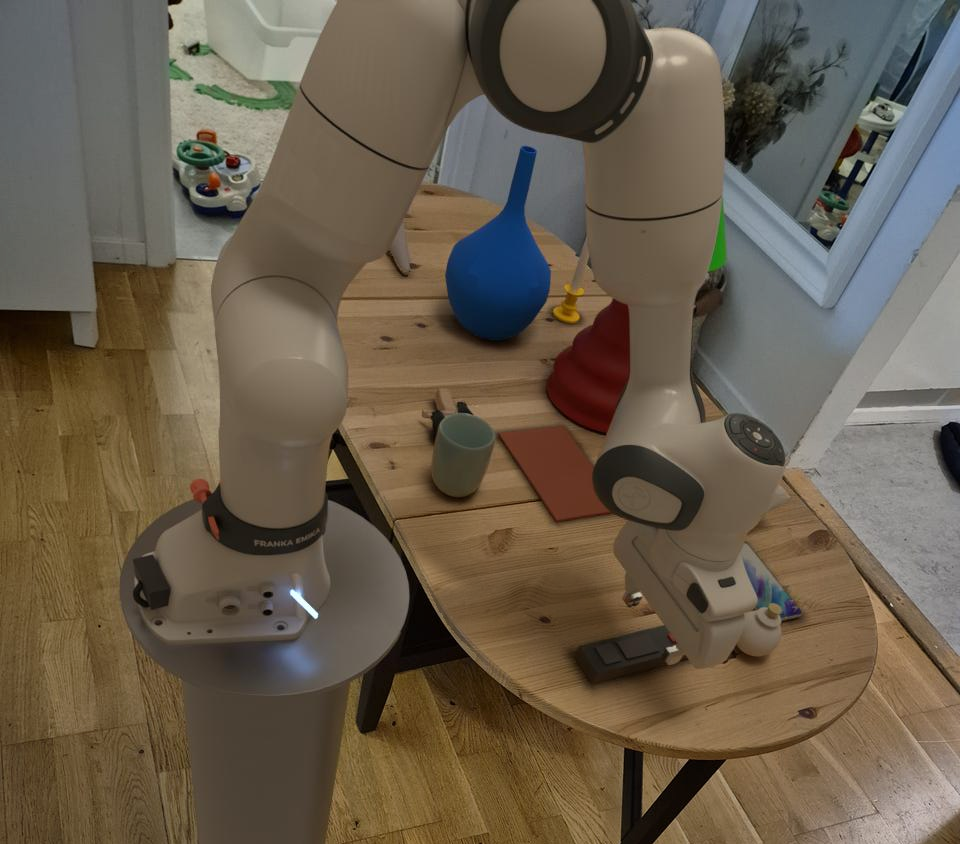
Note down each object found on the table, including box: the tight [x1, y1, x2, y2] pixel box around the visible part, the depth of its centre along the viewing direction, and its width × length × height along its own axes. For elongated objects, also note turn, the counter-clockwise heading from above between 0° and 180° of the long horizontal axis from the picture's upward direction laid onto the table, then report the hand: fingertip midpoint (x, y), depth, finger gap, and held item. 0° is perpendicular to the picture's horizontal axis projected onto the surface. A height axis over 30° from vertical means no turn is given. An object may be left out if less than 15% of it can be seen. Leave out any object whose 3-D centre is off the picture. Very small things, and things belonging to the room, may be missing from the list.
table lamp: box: [546, 192, 728, 434], centre depth 125 cm, size 20×20×45 cm
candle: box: [552, 236, 590, 324], centre depth 152 cm, size 5×5×16 cm
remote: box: [573, 624, 689, 685], centre depth 104 cm, size 15×5×2 cm, turn 114°
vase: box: [444, 145, 552, 341], centre depth 138 cm, size 18×18×30 cm
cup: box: [430, 412, 496, 498], centre depth 115 cm, size 8×8×10 cm
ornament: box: [735, 596, 804, 657], centre depth 107 cm, size 6×7×10 cm
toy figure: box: [421, 387, 474, 438], centre depth 125 cm, size 7×6×15 cm
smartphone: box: [740, 541, 803, 622], centre depth 119 cm, size 7×1×15 cm
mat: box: [498, 425, 613, 523], centre depth 126 cm, size 12×20×1 cm, turn 24°
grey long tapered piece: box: [388, 221, 411, 276], centre depth 161 cm, size 8×9×26 cm
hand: (648, 630), depth 102 cm, fingers open, 8 cm apart
